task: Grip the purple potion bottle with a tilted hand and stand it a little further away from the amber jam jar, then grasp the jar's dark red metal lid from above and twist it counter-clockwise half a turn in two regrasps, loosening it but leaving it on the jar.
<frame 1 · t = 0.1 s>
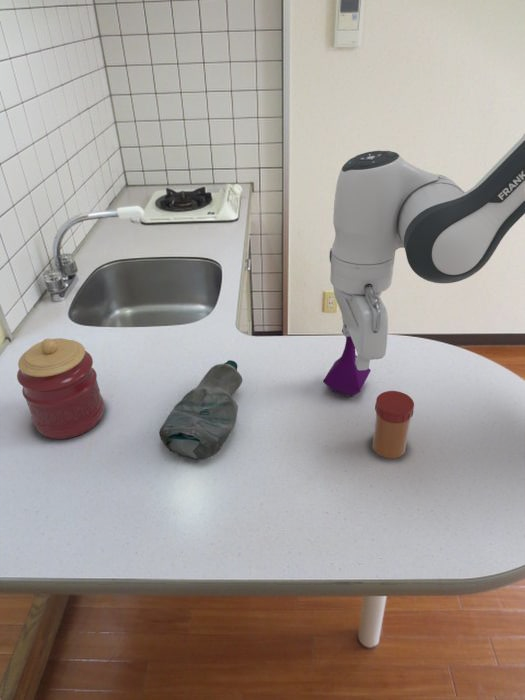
hand: (354, 350, 83), 19 cm above the table, tool pointing down, fingers open, 8 cm apart
crushed plastic bottle: (211, 418, 99), on the table
jar lid: (394, 404, 86), point 10 cm above the table, screwed on, not yet turned
jam jar: (388, 446, 91), on the table
purple potion bottle: (346, 389, 106), on the table
kitchen canister: (71, 418, 101), on the table
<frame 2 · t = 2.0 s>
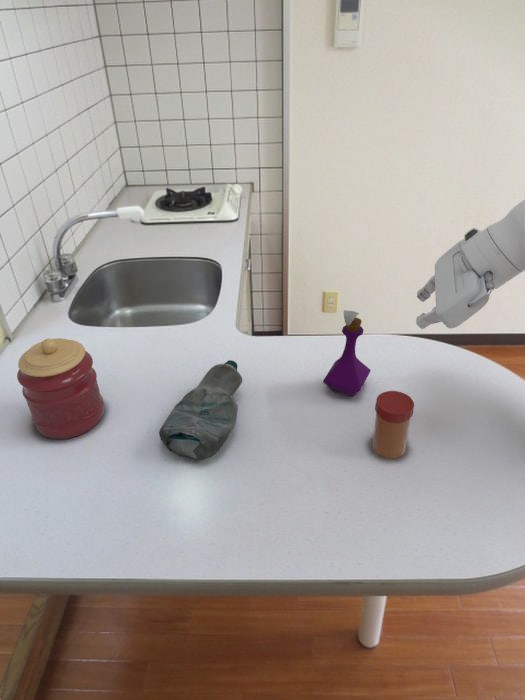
hand: (418, 310, 91), 20 cm above the table, tool tilted 45°, fingers open, 8 cm apart
nothing on the table moved.
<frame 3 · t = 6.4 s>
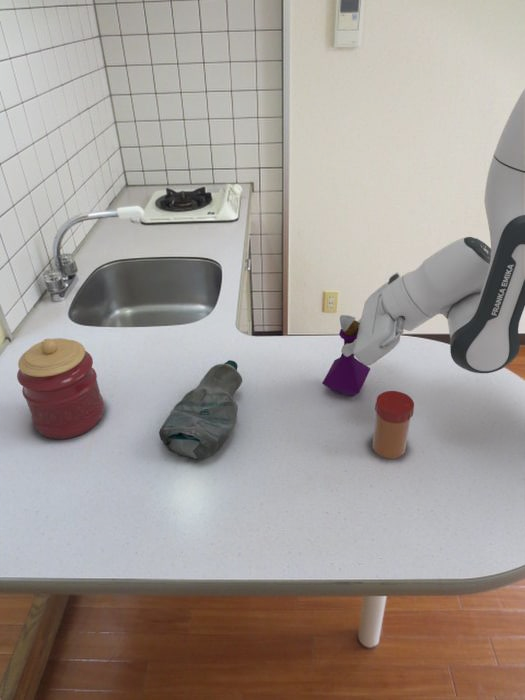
hand: (345, 344, 100), 10 cm above the table, tool tilted 45°, fingers closed on purple potion bottle, 4 cm apart
purple potion bottle: (346, 388, 105), on the table, touching gripper
everything else where it was.
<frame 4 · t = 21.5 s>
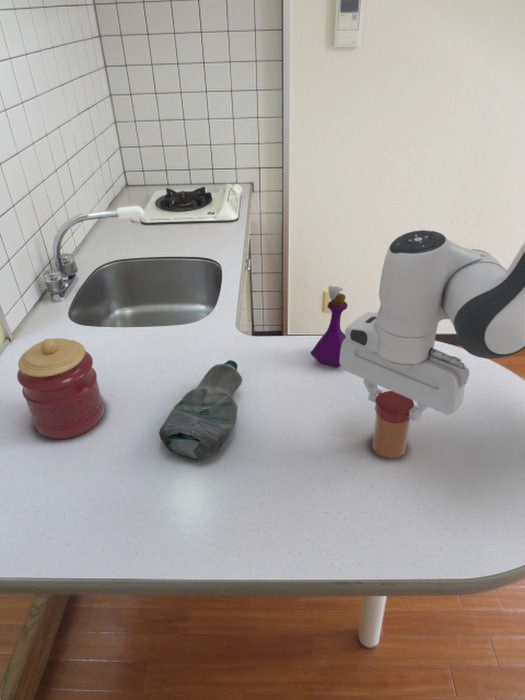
hand: (393, 408, 87), 9 cm above the table, tool pointing down, fingers closed on jar lid, 6 cm apart
jar lid: (394, 404, 86), point 10 cm above the table, screwed on, not yet turned, touching gripper
purple potion bottle: (332, 361, 114), on the table
everything else where it was.
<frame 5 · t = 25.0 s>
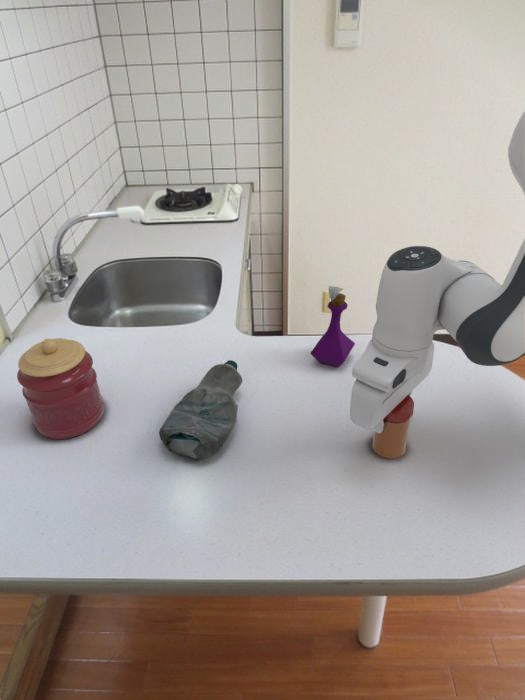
hand: (389, 418, 88), 6 cm above the table, tool pointing down, fingers closed on jam jar, 5 cm apart
jar lid: (394, 403, 86), point 10 cm above the table, turned 91° so far, risen 0.1 cm, still on its thread
jam jar: (388, 447, 91), on the table, touching gripper
everything else where it was.
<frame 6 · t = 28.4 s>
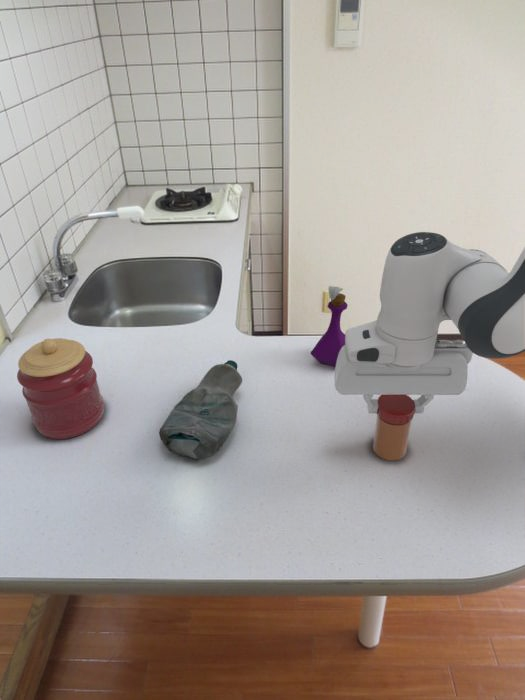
hand: (394, 411, 86), 9 cm above the table, tool pointing down, fingers closed on jar lid, 6 cm apart
jar lid: (395, 405, 86), point 10 cm above the table, turned 128° so far, risen 0.2 cm, still on its thread, touching gripper
jam jar: (389, 448, 91), on the table
everything else where it was.
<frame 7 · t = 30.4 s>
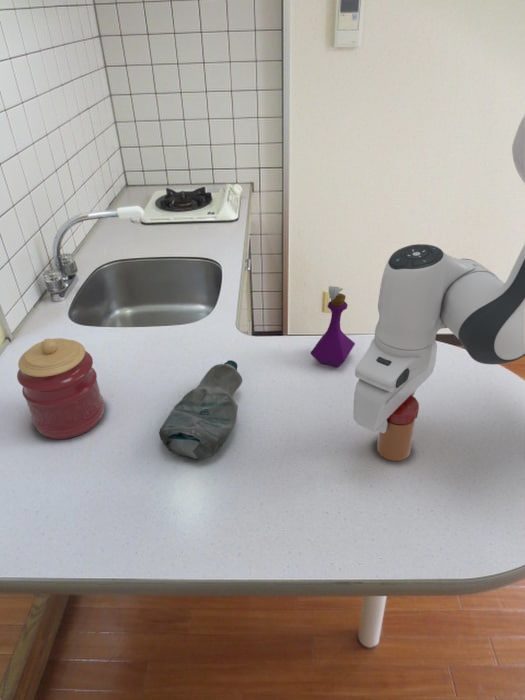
hand: (392, 418, 88), 7 cm above the table, tool pointing down, fingers closed on jam jar, 5 cm apart
jar lid: (399, 405, 85), point 10 cm above the table, turned 177° so far, risen 0.2 cm, still on its thread
jam jar: (393, 449, 91), on the table, touching gripper
everything else where it was.
when the fingers open (6 cm above the table, at t = 32.2 s): jam jar stays where it is, on the table.
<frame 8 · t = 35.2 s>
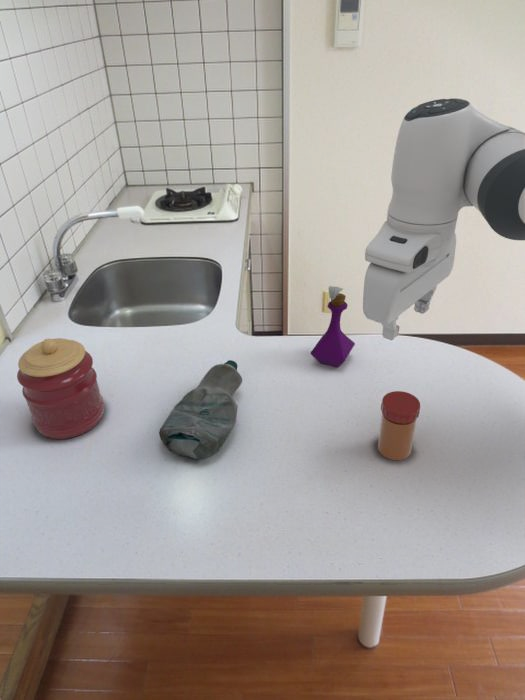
hand: (406, 323, 77), 25 cm above the table, tool pointing down, fingers open, 8 cm apart
jam jar: (394, 448, 91), on the table
everything else where it was.
at the end: jar lid turned 0.49 turns (still on its thread); jar lid is still on its thread (0.49 turns); purple potion bottle inside the target area (0.1 cm from its centre), on the table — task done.
